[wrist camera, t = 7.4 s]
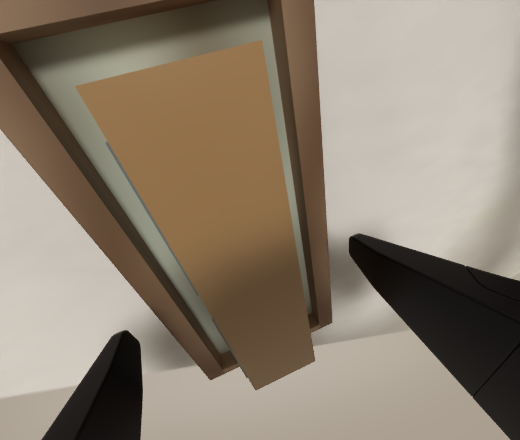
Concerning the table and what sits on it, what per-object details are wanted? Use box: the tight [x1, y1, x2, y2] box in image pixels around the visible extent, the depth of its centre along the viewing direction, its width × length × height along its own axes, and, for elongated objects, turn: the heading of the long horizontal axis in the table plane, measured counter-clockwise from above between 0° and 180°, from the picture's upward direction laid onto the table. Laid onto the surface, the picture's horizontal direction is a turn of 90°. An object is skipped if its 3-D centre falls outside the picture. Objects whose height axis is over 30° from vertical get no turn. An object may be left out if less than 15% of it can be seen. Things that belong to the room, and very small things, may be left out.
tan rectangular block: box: [75, 40, 315, 390], centre depth 9 cm, size 4×14×4 cm, turn 14°
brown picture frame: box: [0, 0, 332, 380], centre depth 11 cm, size 9×18×3 cm, turn 14°
